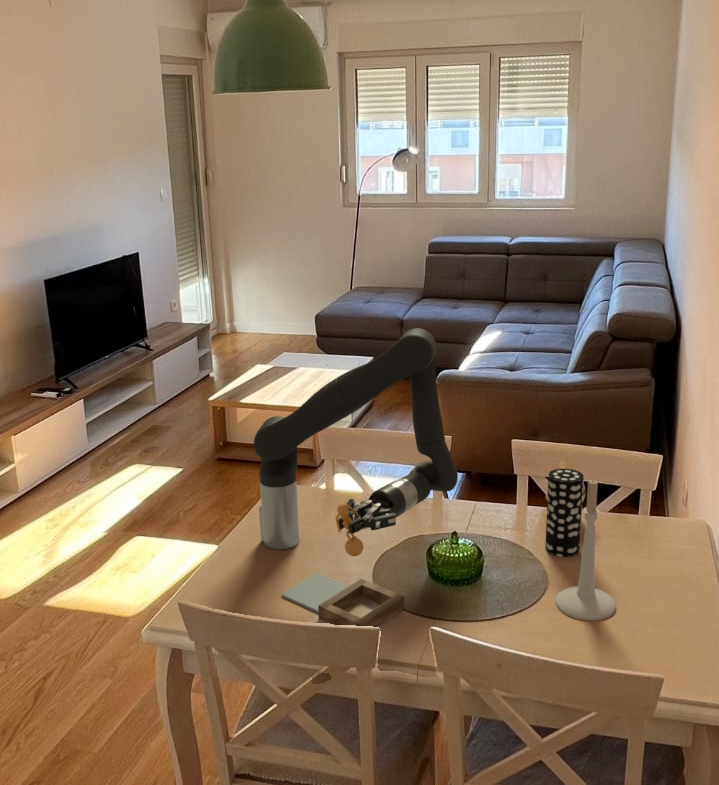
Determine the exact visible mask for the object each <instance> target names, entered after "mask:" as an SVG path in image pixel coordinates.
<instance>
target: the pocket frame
mask: <svg viewBox="0 0 719 785" xmlns="http://www.w3.org/2000/svg"><path fill="white" fill-rule="evenodd" d="M348 586H349V587H347V588H345V589H344V590H342V591H341V592H339V593H338V594H336V595H334V596H333V597H331V598H330V599H328V600H326V601H325V602H323V603H322V604H320V605H319V606H318V609H319V613H318V618H319V619H321V620H323V621H325V622H328V623H330V624H332V625H334V626H336V625H356V626H373V627H377V628H379V627H380V626H381V625H383V624H384V623H385V622H387V621H388V620H390V619H391V618H393V617H394V616H396V615H397V614H398V613H400V612H401V611H402V610H404V609H405V595H403V594H400V593H398V592H395V591H392V590H390V589H387V588H385V587H383V586H381V585H378V584H376V583H373V582H371V581H368V580H366V579H364V578H360V579H358V580H356V581H355V582H353V583H352V584H350V585H348ZM361 598H365V599H367V600H369V601H373V602H375V603H377V604H379V605H378V606H376V607H375V608H373V609H372V610H370V611H369V612H368V613H366V614H364V615H363V616H362V617H359V616H358V615H356V614H354V613H351V612H348V611H347V610H344V609H346V608H347V607H349V606H350V605H352V604H353V603H355V602H356V601H358V600H360V599H361Z"/></svg>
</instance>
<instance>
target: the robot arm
mask: <svg viewBox="0 0 719 785" xmlns="http://www.w3.org/2000/svg"><path fill="white" fill-rule="evenodd" d="M436 356H437V343H436V339H435V337H434V336H433V334H432V333H430V332H429V331H427V330H426V329H423V328H419V327H418V328H417V327H416V328H411V329H409V330H407V331H406V332H405V333H404V334H403V335H402V336H401V337H400V338H399V339H398V340H397V341H396V342H395V343H394V344H392V346H390V347H389V348H388V349H387V350H385V351H384V352H382V353H381V354H379V356H377V357H376V358H375V359H372V360H370V361H369V362H367V363H365V364H362V365H360V366H357V367H355V368H352V369H350V370H348V371H346V372H344V373H343V374H341V375H339V376H337V377H336V378H334V379H332V380H331V381H329V382H328V383H326V384H325V385H324V386H322V387H321V388H320V389H318V390H317V391H316V392H315V393H313V394H312V395H311V396H310V397H309V398H308V399H307V400H306V401H305V402H304V403H302V404H301V406H300V407H298V408H297V409H296V410H295V411H293V412H292V413H290V414H289V415H287V416H281V415H277V416H272V417H269V418H267V419H266V420H265V421H263V423H262V425H261V426H260V427H259V429H258V430H257V432H256V434H255V436H254V439H253V449H254V452H255V453H256V455H257V456H258V457H259V458H261V463H260V468H259V472H258V474H259V477H258V478H259V486H260V487H259V488H260V500H261V506H259V508H258V512H259V525H260V540H261V542H263V545H265V547H267V548H269V549H272V550H287V549H292V548H293V547H295V546H297V545H298V544H299V542H300V523H299V505H298V485H297V470H298V447H299V446H300V445H302V444H303V443H304V442H305V441H306V440H308V439H310V437H313V436H314V435H316V434H318V433H320V432H322V431H324V430H326V429H327V428H329V427H331V426H333V425H335V424H336V423H338V422H339V421H341V420H343V419H345V418H347V417H348V416H350V415H352V414H354V413H355V412H356V411H358V410H360V409H361V408H363V407H364V406H365V405H367V404H368V403H370V402H371V401H372V400H374V399H375V398H376V397H378V396H379V395H380V394H381V393H383V392H384V391H385V390H387V389H388V388H390V387H391V386H393V385H395V384H396V383H398V382H400V381H403V380H404V379H406V378H409V383H410V390H411V404H412V405H411V406H412V407H411V408H412V409H411V410H412V424H413V433H414V437H415V444H416V449H417V451H418V452H419V454H421V455H423V456H426V457H427V458H429V459H430V460H431V461H430V460H425V461H422V462H419V463H417V464H416V465H415V466H414V467H413V469H411V471H409V473H408V474H407V475H405V476H403V477H400V478H399V479H397V480H393V481H391V482H389V483H388V484H386V485H384V486H381V487H380V488H378V489H377V490H374V491H373V492H372V493H371V494H370V496H369V497H368V499H364V500H362V501H360V502H355V499H353V498H349V499H348V501H347V502H346V504H348V505H349V506H351V507H352V508H353V509H354V510H355V511H356V512H357V514H358V516H359V517H358V516H357V515H356V513H354V512H353V511H352V510H351V509H350V508H349V517H350V518H351V520H352V523H351V524H349V533H351V534H353V535H354V534H356V533H358V532H360V531H362V530H367V529H369V528H370V530H371V531H376V530H381V529H385V528H386V529H387V528H388V527H389V528H390V527H394V526H396V524H397V522H396V521H397V517H400V516H402V515H403V514H405V513H407V512H408V511H410V510H411V509H412V508H413V507H415V506H416V505H418V504H420V503H421V502H423V501H424V500H426V499H427V498H428V497H429V495H430V494H431V491H435V492H436V491H437V492H445V493H446V492H451V491H452V490H454V489H455V488H456V485H457V482H458V477H459V475H458V470H457V466H456V463H455V461H454V458H453V456H452V453H451V452H450V450H449V447H448V445H447V442H446V438H445V429H444V423H443V417H442V412H441V406H440V401H439V396H438V394H439V393H438V385H437V375H436V374H437V373H436V369H437V368H436V361H437V360H436ZM343 522H344V521H343V519H342V517H341V516H340V517H339V518H338V523H339V528H340V529H341V530H343V529H346V528H345V527H344V525H343ZM336 527H337V526H336ZM337 529H338V527H337ZM351 534H350V535H351Z"/></svg>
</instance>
